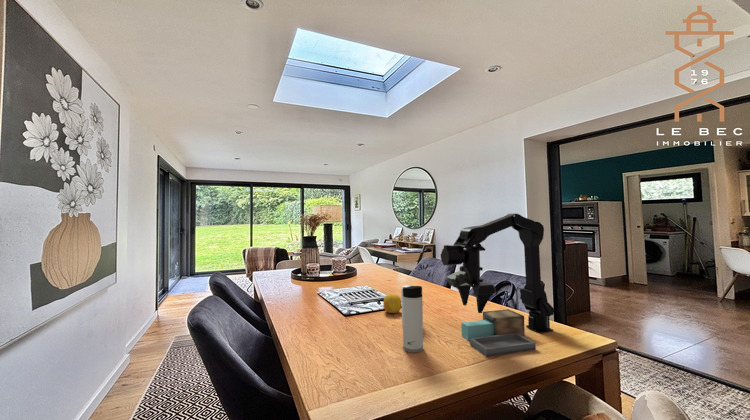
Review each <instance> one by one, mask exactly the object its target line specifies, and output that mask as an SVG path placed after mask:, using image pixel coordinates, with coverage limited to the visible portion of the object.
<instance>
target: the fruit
mask: <svg viewBox="0 0 750 420" xmlns="http://www.w3.org/2000/svg"><path fill="white" fill-rule="evenodd" d="M382 304H383V308H384V310H385V312H387V313H389V314H396V313H399V312H400V311H401V310H402V298H401V297H400V296H399V295H398V294H396V293H389V294H386V295H385V297H383V303H382Z"/></svg>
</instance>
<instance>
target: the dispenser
mask: <svg viewBox="0 0 750 420" xmlns="http://www.w3.org/2000/svg"><path fill="white" fill-rule="evenodd" d="M489 319H490V320H492V321H495V335H502V334H510V333H518V334H519V335H521V336H523V337H526V336H525V334H526V333H525V332H526V331H525V315H523V314H521V313H519V312H517V311H514V310H511V309H498V310H497V309H496V310H489V311H487V310H486V311H482V320H489Z"/></svg>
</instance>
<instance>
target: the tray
mask: <svg viewBox="0 0 750 420" xmlns="http://www.w3.org/2000/svg"><path fill="white" fill-rule="evenodd" d="M469 344H470V345H469V346H470V347H472V348H473V349H475V350H476V351H477V352H479V353H480V354H481V355H483V356H485V357H486V358H489V357H497V356H502V355H512V354H517V353H525V352H532V351H536V350H537V347H536V346H537V345H536V342H535V341H533V340H531V339H529V338H527V337H526V336H521V335H519V334H518V333H510V334H502V335H494V336H486V337H478V338H470V341H469Z"/></svg>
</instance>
